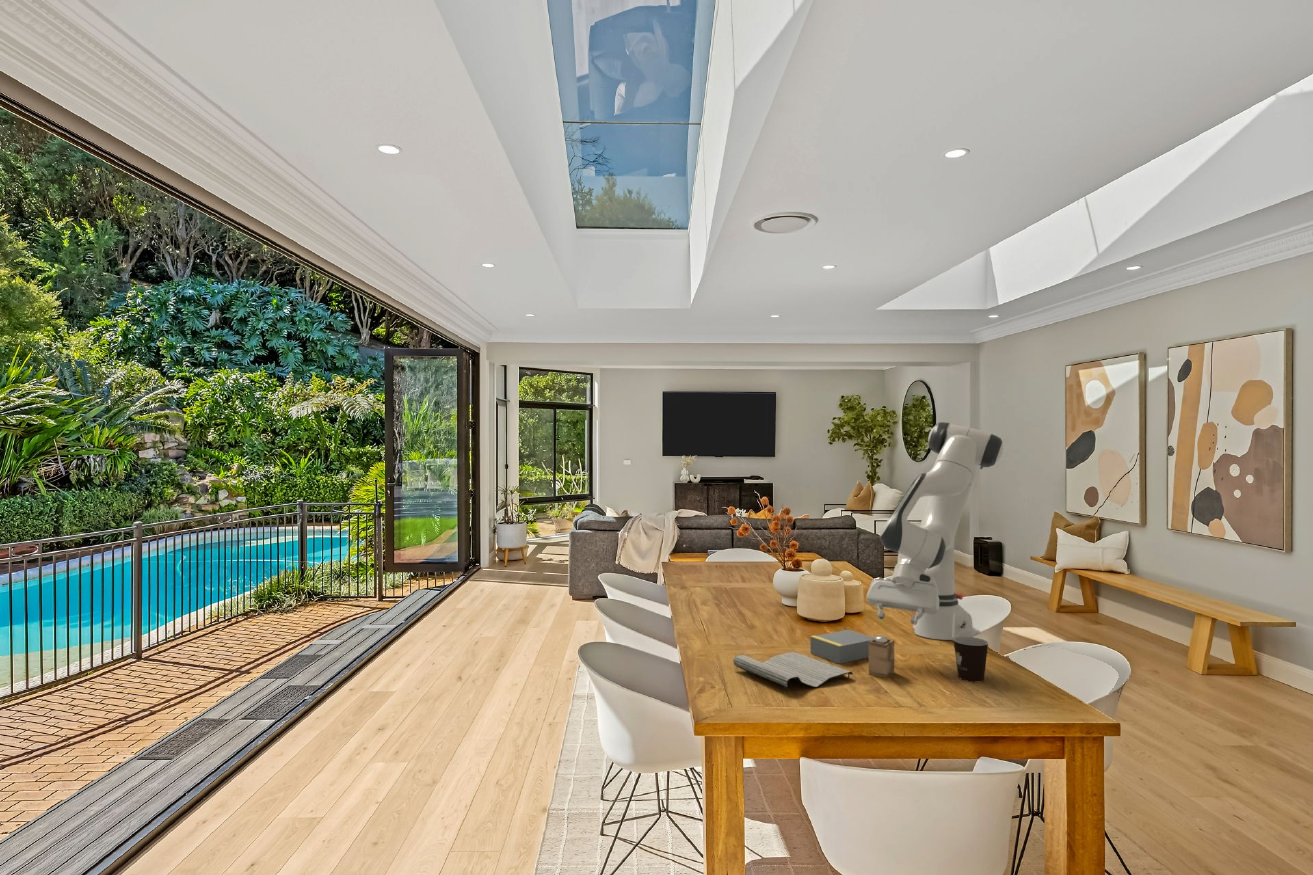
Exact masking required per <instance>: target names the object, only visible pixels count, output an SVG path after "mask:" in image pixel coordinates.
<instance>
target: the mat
mask: <svg viewBox="0 0 1313 875" xmlns="http://www.w3.org/2000/svg"><path fill="white" fill-rule="evenodd" d="M732 662H733V665H734V666H735V667H737V668H738V669H739V668H740V669H742V670H744V671H746V672H748V673H751V674H753V675H757V676H759V677H761V678H764V679H766V680H768V681H770V682H772V683H776V684H778V685H781V686H783V687H784V689H785V692H786V693H788V690H787V688H788V687H789V684H788V683H789V681H790V680H793V679H794V680H795V681H797V682H799V683H801V684H803V685H806V686H808V687H811V688H819V687H821V686H822V685H823V684H825V683H827V682H829V680H831V679H835V678H839V677H842V676H845V675H847V678H848V679H850V675H854V674H853V672H852V671H850V670H848V669H844V668H841V667H839V666H837V665H833V664H830V663H827V662H824V661H822V660H818V659H815V658H814V657H811V656H807V655H804V654H802V653H798V652H795V651H790V652H786V653H785V652H784V653H782V654H778V655H777V654H776V655H774V656H772V657H770V658H769V659H767V660H765V661H763V662H762V661H760V660H756V659H753V658H751V657H749V656H747V655H744V654H740V655H739V654H738V655H736V656H734V657H733V661H732Z"/></svg>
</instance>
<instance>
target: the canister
mask: <svg viewBox="0 0 1313 875" xmlns="http://www.w3.org/2000/svg"><path fill="white" fill-rule="evenodd" d="M874 638H875V642H876V643H881V644H886V643H887V639H888V637H887V636H884V635H876V636H874Z"/></svg>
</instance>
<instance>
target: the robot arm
mask: <svg viewBox="0 0 1313 875" xmlns="http://www.w3.org/2000/svg"><path fill="white" fill-rule="evenodd" d="M928 433H929V434H928V438H927V440H928V442H927V443H928V447H929V449H930V450H931V451H932V452H934V453H936V454H937V457H936V459H935V461H934V465H933V466H932V467H931V469H930V470H929V471H928V472H922V473H921V474H920V473H919V475H918V476H917V477H916V478H915V479H914V480H913V482H912V483H911V485H910V486H909V488H908V489H907V490H906V492H905V493H904V495H903V497H902V499H901V500H900V502H899V503H898V505H897V506H896V508H895V509H894V511H893V512H892V514H891V516H890V517H889V518H888V519H887V520H886V521H885V523H884V524H883V525H882V527H881V530H880V532H879V540H880V542H881V545H882V546H883V547H884V549H885V550H889V551H892V552H894V553H898V555H897V563H896V564H895V566H894V568H893V573H892V576H891V578H886V577H885V578H883V577H877V578H873V579H872V580H871V582H870V585H869V588H868V591H867V593H866V600H867V602H868V604H869V605H870V606H873V607H876V609H877V610H878V611H877V618H878V619H880V620H885V617H886V614H885V612H884V610H883V609H884V608H888V609H893V610H901V611H907V612H914V613H915V614H914V615H911V617H910V623H911V624H912V629H913V630H914V634H915V635H918V636H920V637H921V638H922V637H924V638H927V639H933V640H941V641H953V639H954V638H956V637H976V636H978V635H981V630H980V629H979V628H976V627H973V618H972V615H971V614H970V613H969V612H968V611H967V610H966V609H965V608H963V607H962V606H961V605H960V604H959V600H963V599H964V595H963V593H961V592H960V593H959V592H956V591H955V537H956V534H957V532H958V529H959V526H960V522H961V519H962V517H963V516H962V515H963V514H964V511H965V506H966V504H967V501H968V498H969V494H970V492H971V488H972V487H973V482H974V480H975V475H976V471H977V465H978V466H980V467H979V469H980V470H983V468H990V467H992V466H995V465H996V464H997V463H998V462H999V460H1000V459H1001V457H1002V456H1003V452H1004V446H1003V440H1002V438H1001V437H999V436H997V435H995V434H993V433H991V434H990V433H988V432H985V431H983V430H980V429H977V428H973V427H968V426H964V425H959V424H958V425H957V424H952V423H949V422H946V421H945V422H944V421H941V422H938V423H935V425H934V426H933V427H932V428H931V430H930V431H929V432H928ZM923 497H929V500H928V502H927V504H926V507H925V510H924V514H923V515H922V518H921V522H920V525H916V524H914V523H911V522H910V521H909V520H908V517H909V515H910V514H911V512H912V511H913V509H914V507H915V506H916V504H917V503H918V501H919V499H920V498H923Z"/></svg>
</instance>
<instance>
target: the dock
mask: <svg viewBox="0 0 1313 875" xmlns="http://www.w3.org/2000/svg"><path fill="white" fill-rule="evenodd" d="M874 638H875V636H874V637H873V636H870V635H868V634H863V633H860V632H857V631H853V630H850V629H844V630H839V631H833V632H829V633H823V634H817V635H810V654H811V655H815V656H817V657H819V656H820V657H819V658H822V659H825V660H827V661H831V662H833V663H836V664H841V665H842V664H845V663H850V662H854V660H855V661H858V660H864V659H869V648H868V642H869V641H871V640H872V639H874ZM863 658H864V659H863Z"/></svg>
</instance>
